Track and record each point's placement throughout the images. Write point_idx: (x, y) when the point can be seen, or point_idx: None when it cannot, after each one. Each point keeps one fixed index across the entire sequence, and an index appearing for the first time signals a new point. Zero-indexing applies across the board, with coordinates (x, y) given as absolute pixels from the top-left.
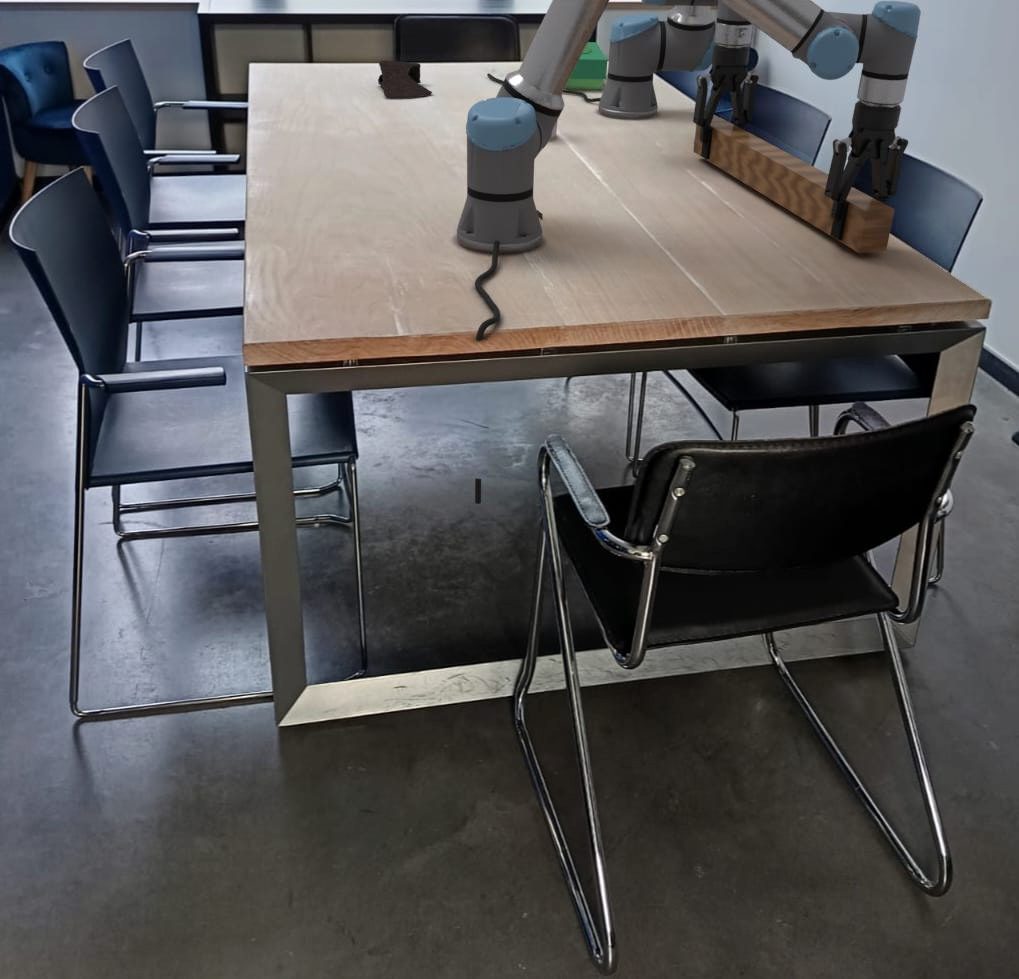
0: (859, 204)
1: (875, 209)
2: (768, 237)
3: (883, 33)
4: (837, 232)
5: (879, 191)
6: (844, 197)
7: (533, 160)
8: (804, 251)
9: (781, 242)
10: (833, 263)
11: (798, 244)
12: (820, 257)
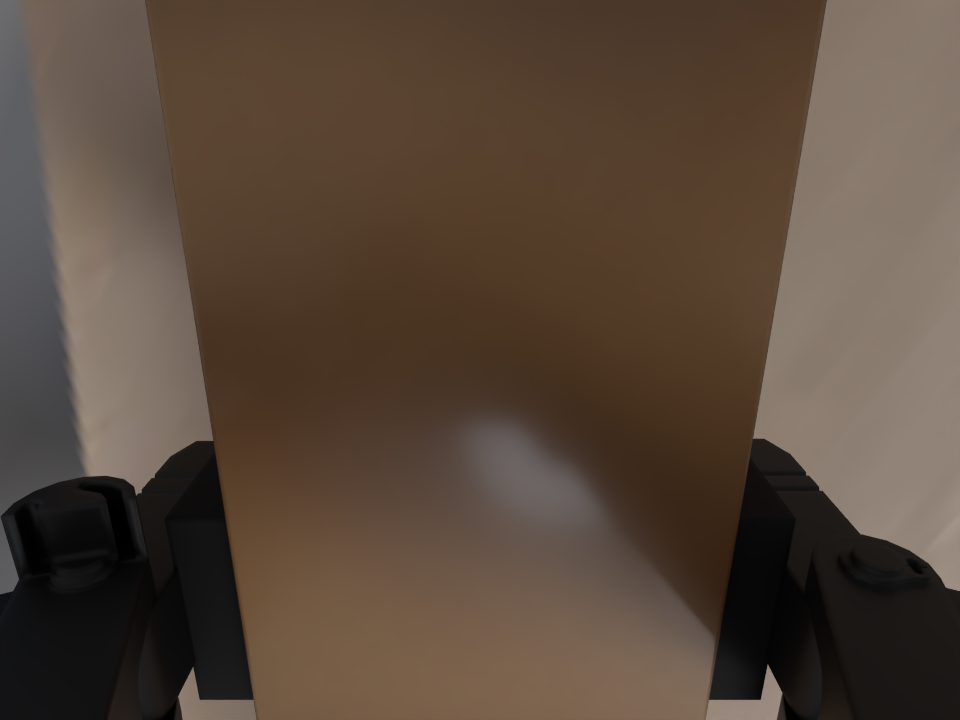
0: (667, 392)
1: (560, 48)
2: None
3: None
4: None
5: (132, 664)
6: (879, 594)
7: None
8: (880, 342)
9: (897, 533)
10: (864, 21)
11: (815, 477)
12: (861, 190)
